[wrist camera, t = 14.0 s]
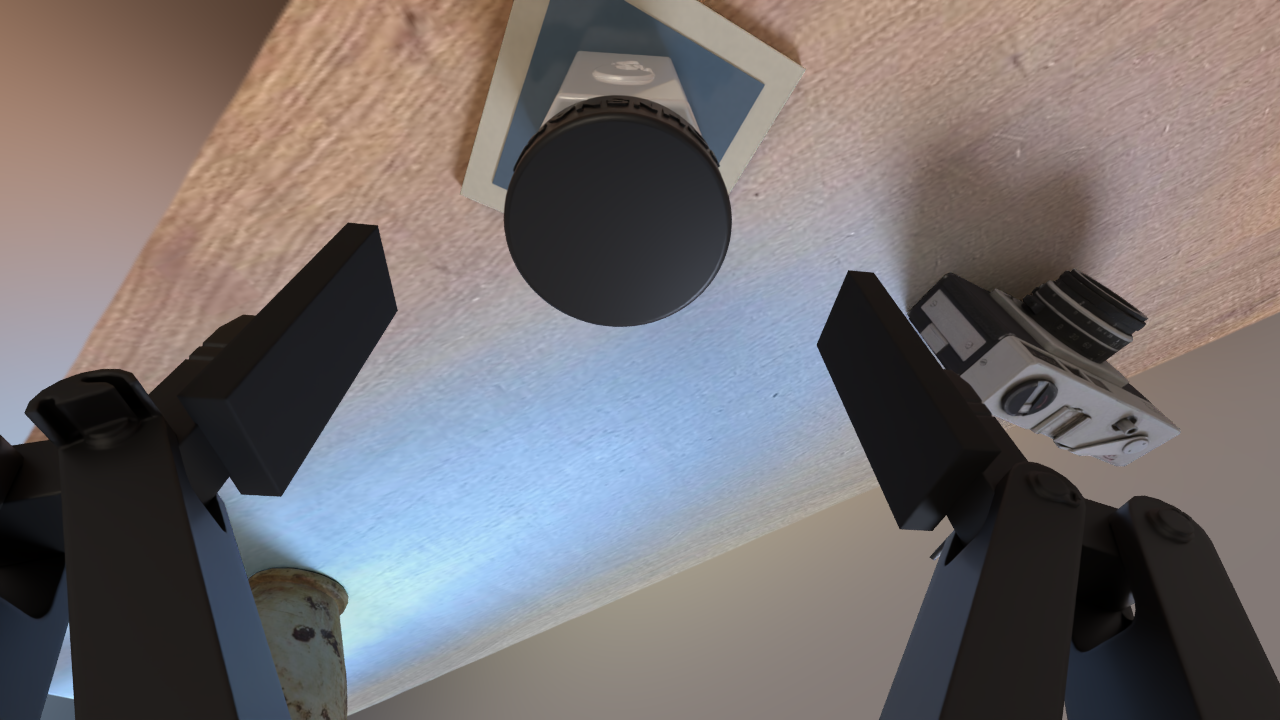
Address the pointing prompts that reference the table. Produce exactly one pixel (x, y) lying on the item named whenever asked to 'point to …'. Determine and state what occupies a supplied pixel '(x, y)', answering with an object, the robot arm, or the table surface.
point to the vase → (304, 639)
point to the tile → (639, 25)
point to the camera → (1047, 361)
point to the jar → (618, 195)
